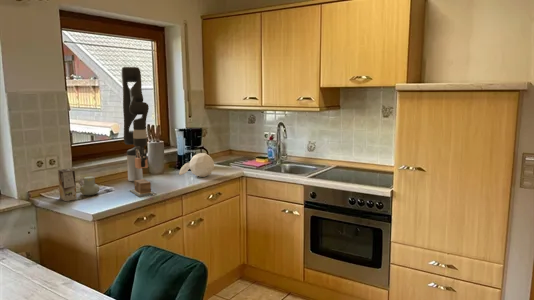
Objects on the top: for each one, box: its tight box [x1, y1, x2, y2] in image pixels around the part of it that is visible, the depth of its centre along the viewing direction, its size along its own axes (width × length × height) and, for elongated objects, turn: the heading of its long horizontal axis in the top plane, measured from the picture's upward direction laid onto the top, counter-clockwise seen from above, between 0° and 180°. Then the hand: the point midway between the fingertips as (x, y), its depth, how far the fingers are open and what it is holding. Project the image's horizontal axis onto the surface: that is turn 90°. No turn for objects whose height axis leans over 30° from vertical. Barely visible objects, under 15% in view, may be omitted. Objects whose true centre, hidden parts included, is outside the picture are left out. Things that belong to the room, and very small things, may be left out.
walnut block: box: [133, 178, 152, 194], centre depth 236 cm, size 10×6×6 cm, turn 37°
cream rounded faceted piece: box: [178, 152, 215, 178], centre depth 283 cm, size 16×22×28 cm
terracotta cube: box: [135, 157, 149, 169], centre depth 234 cm, size 6×6×6 cm
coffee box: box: [57, 168, 77, 202], centre depth 222 cm, size 9×6×16 cm
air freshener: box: [79, 176, 100, 196], centre depth 232 cm, size 11×8×10 cm
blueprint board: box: [129, 188, 157, 198], centre depth 236 cm, size 17×10×1 cm, turn 35°
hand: (141, 166), depth 234 cm, fingers closed on terracotta cube, 5 cm apart
